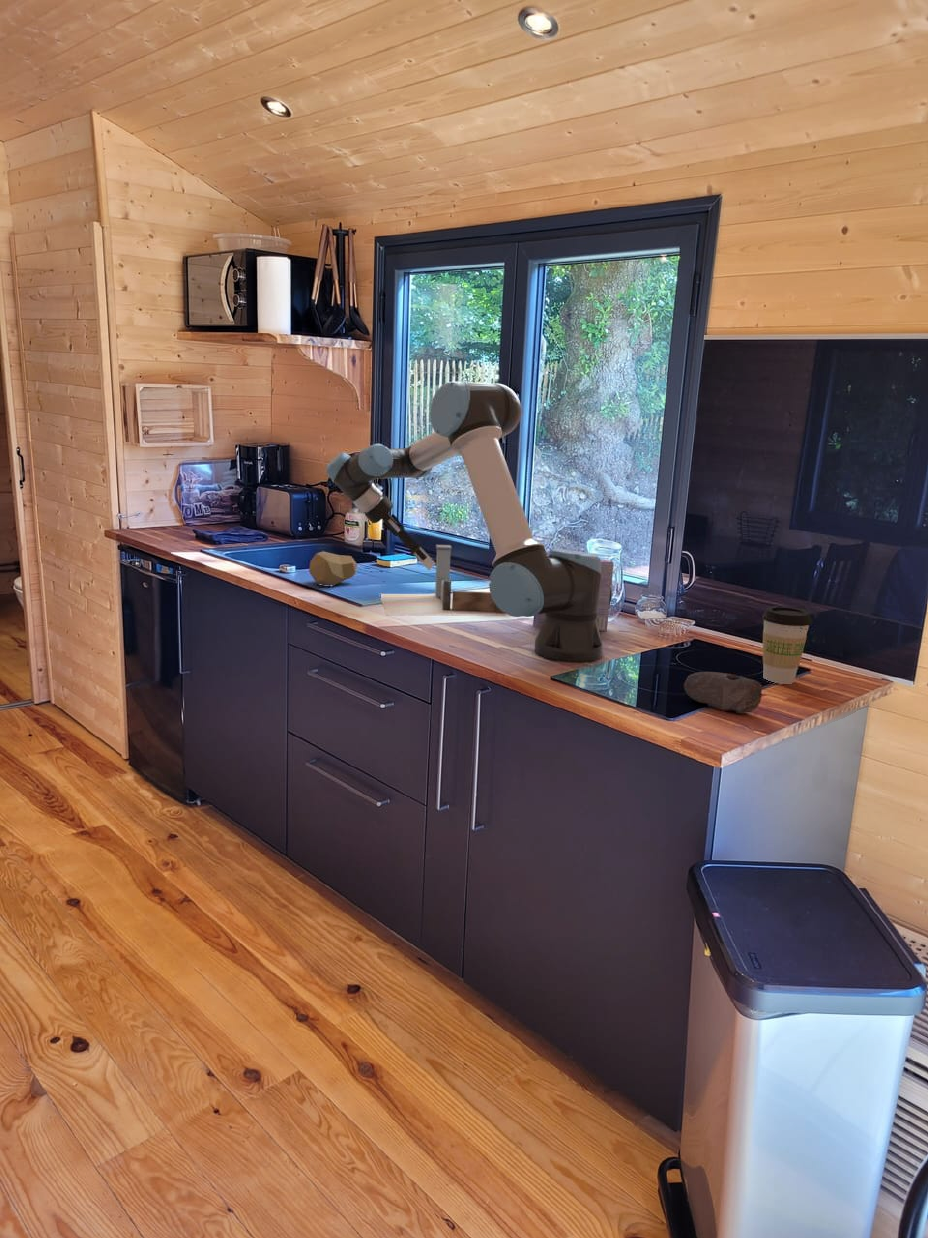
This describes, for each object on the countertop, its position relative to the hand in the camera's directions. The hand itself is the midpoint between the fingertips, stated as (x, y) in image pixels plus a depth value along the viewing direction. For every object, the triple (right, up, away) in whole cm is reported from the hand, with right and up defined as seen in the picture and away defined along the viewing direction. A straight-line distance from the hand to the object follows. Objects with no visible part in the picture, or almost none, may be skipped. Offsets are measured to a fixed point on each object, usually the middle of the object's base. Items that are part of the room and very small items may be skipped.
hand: (431, 566), depth 251 cm
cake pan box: (+36, -17, -23) cm, 45 cm away
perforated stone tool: (+57, -31, -76) cm, 100 cm away
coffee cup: (+75, -27, -57) cm, 98 cm away
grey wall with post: (+3, -9, -3) cm, 10 cm away
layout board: (+4, -11, -6) cm, 13 cm away
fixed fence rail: (+12, -12, -12) cm, 20 cm away
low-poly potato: (-29, -5, +14) cm, 33 cm away
